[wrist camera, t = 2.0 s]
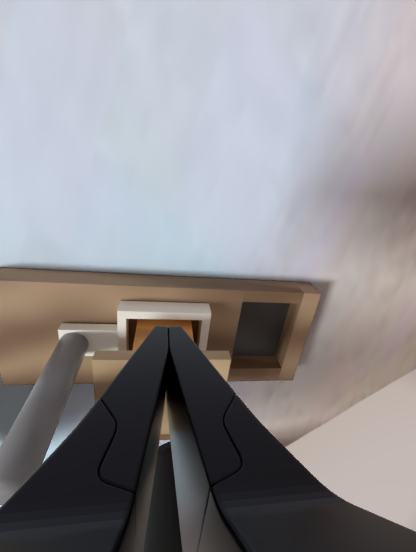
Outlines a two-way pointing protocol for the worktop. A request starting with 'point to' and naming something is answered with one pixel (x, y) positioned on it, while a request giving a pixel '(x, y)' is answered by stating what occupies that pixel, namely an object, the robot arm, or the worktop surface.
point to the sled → (62, 373)
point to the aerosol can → (163, 507)
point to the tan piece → (134, 287)
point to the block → (148, 324)
